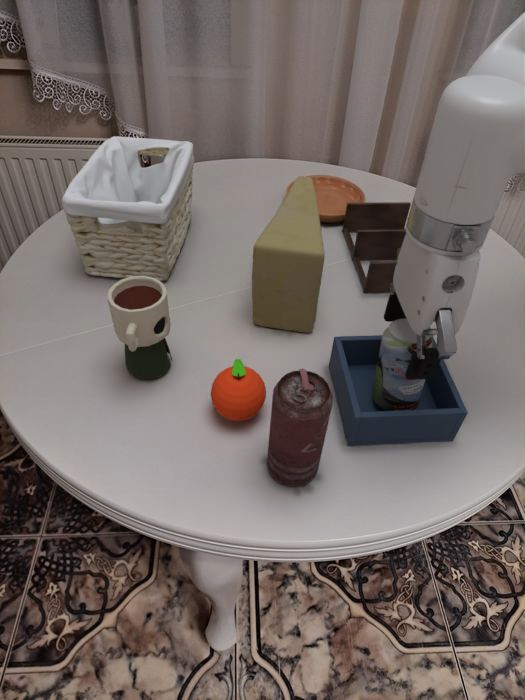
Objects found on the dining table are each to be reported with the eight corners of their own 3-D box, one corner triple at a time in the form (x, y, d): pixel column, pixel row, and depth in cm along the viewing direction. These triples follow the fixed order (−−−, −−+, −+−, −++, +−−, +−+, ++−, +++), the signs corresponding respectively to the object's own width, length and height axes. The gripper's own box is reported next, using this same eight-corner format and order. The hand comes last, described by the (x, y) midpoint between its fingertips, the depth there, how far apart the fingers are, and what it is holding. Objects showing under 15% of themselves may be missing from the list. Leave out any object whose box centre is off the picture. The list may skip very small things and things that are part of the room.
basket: (119, 207, 101) (106, 132, 90) (200, 214, 100) (196, 139, 89) (77, 281, 84) (55, 199, 73) (174, 289, 83) (166, 208, 73)
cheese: (272, 246, 93) (277, 167, 82) (325, 253, 92) (337, 174, 82) (249, 326, 78) (252, 242, 67) (312, 335, 77) (325, 252, 66)
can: (310, 439, 63) (324, 362, 53) (323, 484, 59) (341, 409, 49) (262, 445, 62) (268, 368, 53) (272, 491, 58) (280, 417, 48)
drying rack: (402, 230, 99) (410, 202, 95) (433, 291, 85) (444, 262, 81) (342, 230, 98) (346, 202, 94) (363, 293, 84) (370, 263, 80)
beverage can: (387, 426, 64) (411, 361, 56) (356, 385, 69) (374, 319, 60) (427, 411, 66) (456, 346, 58) (395, 372, 71) (417, 307, 62)
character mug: (167, 397, 67) (157, 324, 58) (114, 393, 67) (95, 320, 58) (181, 340, 75) (174, 268, 66) (133, 336, 75) (119, 264, 66)
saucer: (368, 229, 98) (371, 215, 96) (285, 226, 98) (287, 212, 96) (357, 189, 110) (360, 176, 108) (284, 186, 109) (285, 173, 107)
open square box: (420, 362, 74) (431, 333, 69) (453, 441, 64) (468, 412, 60) (328, 365, 72) (334, 336, 68) (347, 446, 63) (355, 417, 59)
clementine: (211, 384, 69) (209, 347, 64) (262, 383, 70) (264, 346, 65) (211, 433, 63) (209, 396, 58) (267, 431, 64) (269, 394, 59)
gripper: (525, 275, 43) (462, 402, 55) (454, 178, 55) (415, 299, 67) (439, 277, 43) (395, 405, 55) (387, 179, 55) (360, 301, 67)
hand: (406, 346), depth 61 cm, fingers open, 9 cm apart
